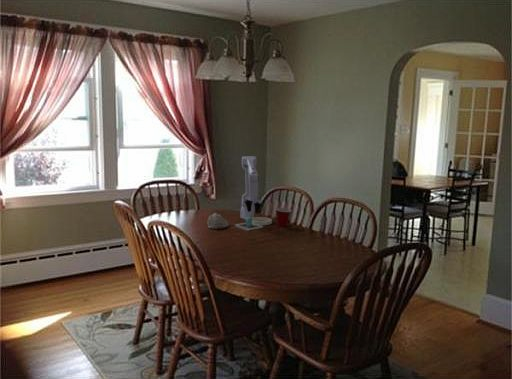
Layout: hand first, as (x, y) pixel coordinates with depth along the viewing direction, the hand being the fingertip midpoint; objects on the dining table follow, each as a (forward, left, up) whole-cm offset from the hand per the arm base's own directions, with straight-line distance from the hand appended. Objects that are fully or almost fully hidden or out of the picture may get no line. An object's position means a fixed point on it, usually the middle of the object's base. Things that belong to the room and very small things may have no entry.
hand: (253, 212), depth 306 cm
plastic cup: (+13, +15, -10) cm, 22 cm away
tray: (+2, -5, -9) cm, 11 cm away
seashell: (-13, -20, -10) cm, 26 cm away
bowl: (-2, +9, -9) cm, 13 cm away
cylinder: (+2, -5, -9) cm, 10 cm away
